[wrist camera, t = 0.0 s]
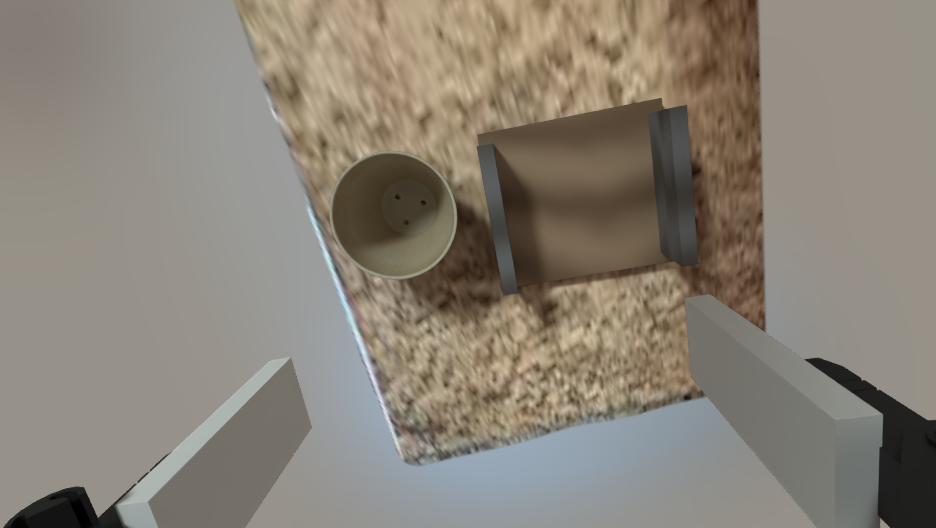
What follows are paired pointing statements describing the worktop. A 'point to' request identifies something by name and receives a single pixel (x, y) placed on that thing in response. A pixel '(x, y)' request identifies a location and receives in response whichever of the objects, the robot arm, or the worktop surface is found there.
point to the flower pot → (393, 215)
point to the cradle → (590, 193)
